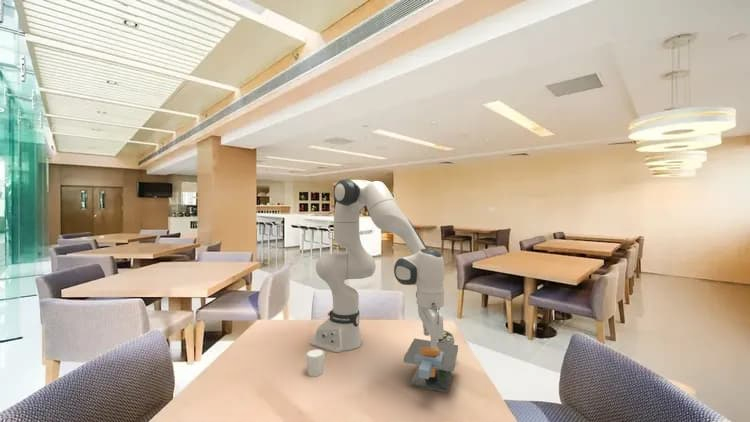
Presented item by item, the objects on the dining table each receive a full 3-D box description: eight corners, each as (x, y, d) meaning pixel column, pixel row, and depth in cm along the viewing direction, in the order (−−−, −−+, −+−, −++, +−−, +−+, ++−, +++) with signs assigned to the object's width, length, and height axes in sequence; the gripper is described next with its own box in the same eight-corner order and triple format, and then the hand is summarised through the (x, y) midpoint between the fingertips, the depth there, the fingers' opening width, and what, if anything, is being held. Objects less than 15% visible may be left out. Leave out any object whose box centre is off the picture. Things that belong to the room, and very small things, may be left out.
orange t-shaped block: (421, 376, 100) (421, 350, 100) (419, 372, 103) (419, 346, 103) (439, 376, 100) (439, 350, 100) (437, 371, 103) (437, 346, 103)
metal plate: (403, 387, 101) (403, 357, 101) (414, 364, 116) (414, 338, 116) (453, 398, 96) (453, 366, 96) (457, 372, 111) (458, 345, 111)
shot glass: (328, 369, 112) (328, 350, 112) (319, 379, 106) (319, 358, 106) (311, 365, 115) (312, 347, 115) (301, 375, 108) (301, 355, 108)
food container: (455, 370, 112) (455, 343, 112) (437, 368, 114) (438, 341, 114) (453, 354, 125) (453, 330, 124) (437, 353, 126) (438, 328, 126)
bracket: (409, 375, 93) (409, 365, 93) (418, 356, 105) (418, 347, 105) (437, 381, 90) (437, 370, 90) (443, 360, 102) (443, 351, 102)
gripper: (449, 309, 91) (448, 356, 91) (432, 290, 111) (431, 328, 111) (428, 309, 90) (427, 356, 91) (415, 290, 111) (414, 328, 111)
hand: (429, 340), depth 101 cm, fingers open, 8 cm apart
